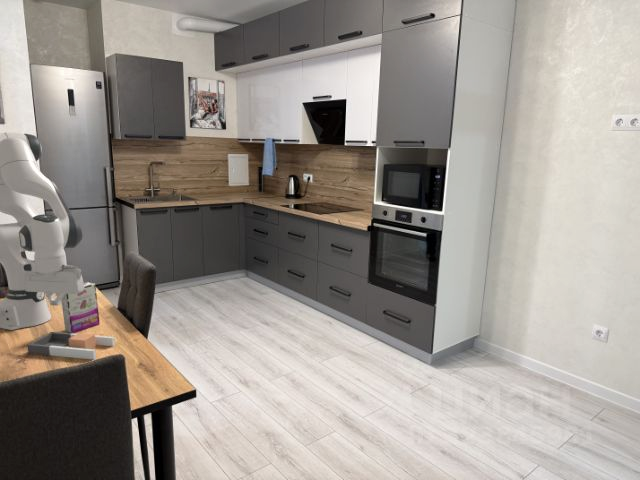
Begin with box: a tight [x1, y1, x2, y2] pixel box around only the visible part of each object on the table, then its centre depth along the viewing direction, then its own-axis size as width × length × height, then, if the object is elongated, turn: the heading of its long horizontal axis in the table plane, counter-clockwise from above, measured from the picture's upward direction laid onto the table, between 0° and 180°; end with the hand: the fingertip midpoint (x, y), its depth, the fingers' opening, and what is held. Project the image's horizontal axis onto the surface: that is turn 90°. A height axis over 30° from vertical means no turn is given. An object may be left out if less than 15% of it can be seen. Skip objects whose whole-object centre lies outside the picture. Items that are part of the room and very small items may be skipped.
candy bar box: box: [61, 281, 101, 334], centre depth 168 cm, size 11×5×16 cm, turn 148°
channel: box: [49, 333, 116, 360], centre depth 151 cm, size 16×11×3 cm
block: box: [68, 332, 97, 350], centre depth 151 cm, size 6×5×5 cm
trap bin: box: [26, 331, 72, 356], centre depth 153 cm, size 8×11×3 cm
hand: (56, 304), depth 149 cm, fingers closed
